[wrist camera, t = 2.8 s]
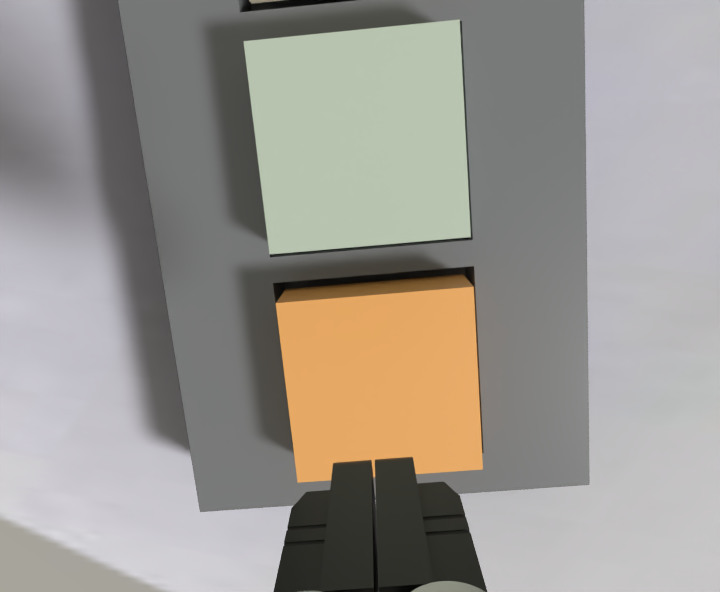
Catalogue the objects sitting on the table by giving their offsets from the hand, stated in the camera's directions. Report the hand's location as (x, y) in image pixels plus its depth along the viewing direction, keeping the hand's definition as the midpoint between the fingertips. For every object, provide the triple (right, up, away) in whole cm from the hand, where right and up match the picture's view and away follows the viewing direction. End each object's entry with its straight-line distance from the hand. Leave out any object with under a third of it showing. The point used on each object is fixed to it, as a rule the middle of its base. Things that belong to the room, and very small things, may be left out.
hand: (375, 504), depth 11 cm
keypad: (0, +9, +9) cm, 13 cm away
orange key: (0, +2, +8) cm, 8 cm away
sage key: (0, +8, +7) cm, 11 cm away
